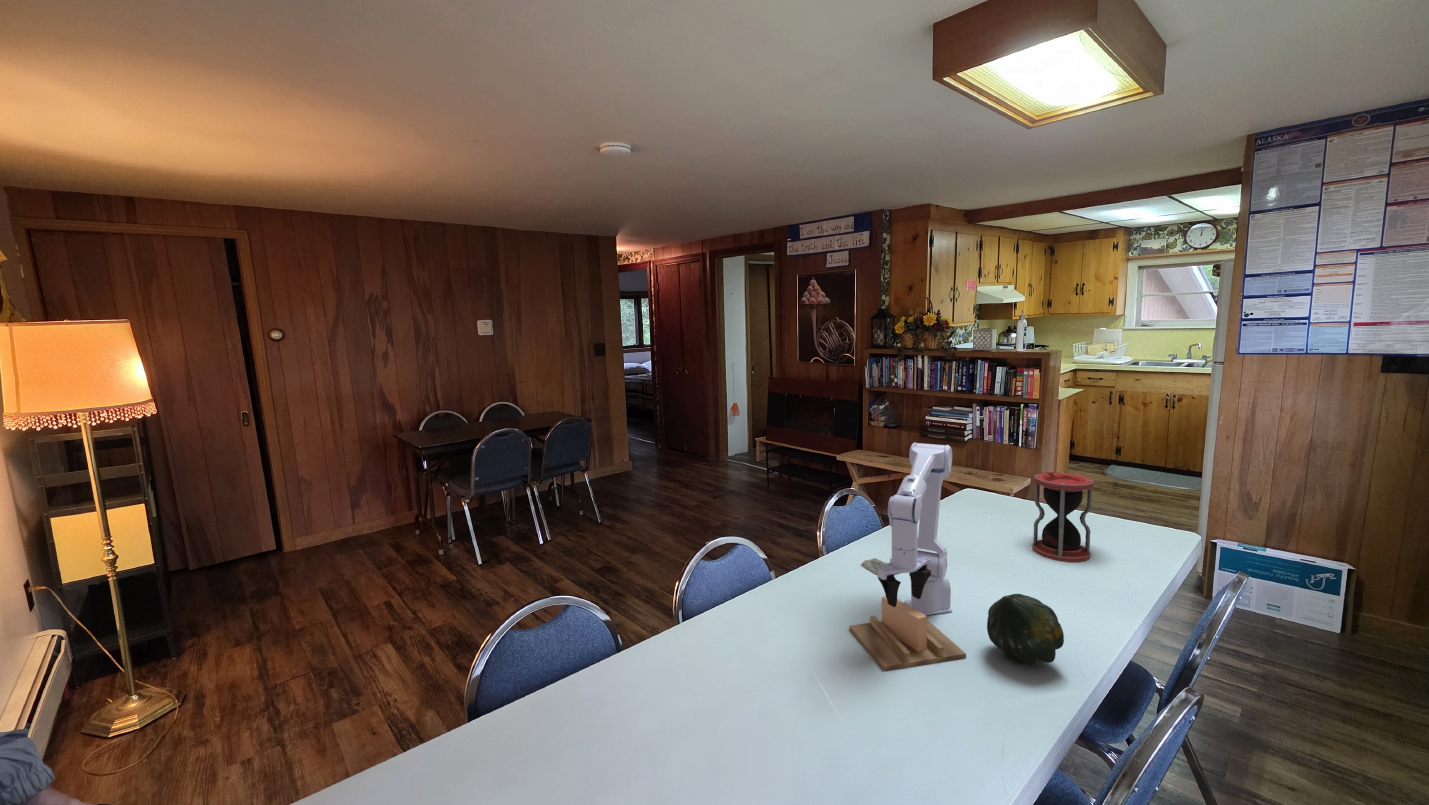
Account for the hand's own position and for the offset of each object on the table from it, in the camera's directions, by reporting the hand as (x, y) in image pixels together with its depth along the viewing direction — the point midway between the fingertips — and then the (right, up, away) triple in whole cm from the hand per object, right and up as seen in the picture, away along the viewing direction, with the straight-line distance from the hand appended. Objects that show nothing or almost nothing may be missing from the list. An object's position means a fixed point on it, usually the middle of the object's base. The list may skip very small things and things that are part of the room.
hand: (904, 601), depth 132 cm
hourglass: (+67, -2, +49) cm, 83 cm away
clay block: (0, -9, +1) cm, 9 cm away
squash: (+24, -11, -6) cm, 27 cm away
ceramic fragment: (+12, -4, +44) cm, 46 cm away
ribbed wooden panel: (0, -10, +1) cm, 10 cm away
